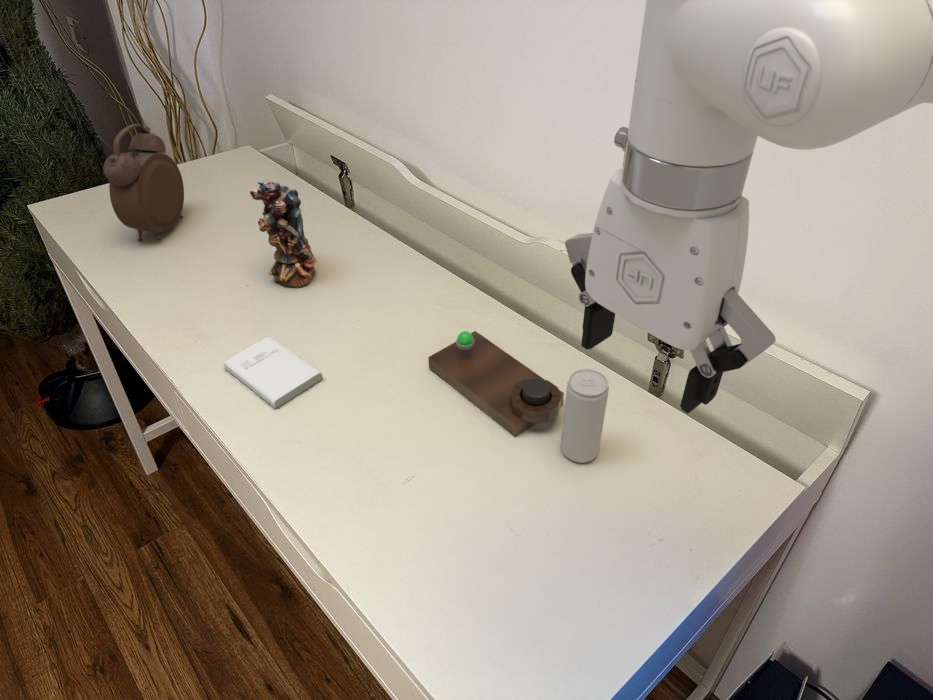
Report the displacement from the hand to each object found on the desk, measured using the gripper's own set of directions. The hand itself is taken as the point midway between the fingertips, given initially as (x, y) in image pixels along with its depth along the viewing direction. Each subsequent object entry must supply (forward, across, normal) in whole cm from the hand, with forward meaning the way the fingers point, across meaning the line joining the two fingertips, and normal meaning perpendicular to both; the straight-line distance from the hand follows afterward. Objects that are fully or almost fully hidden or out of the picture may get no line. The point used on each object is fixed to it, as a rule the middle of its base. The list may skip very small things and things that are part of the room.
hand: (643, 370), depth 55 cm
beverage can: (+31, -14, +12) cm, 36 cm away
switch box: (+30, -29, +12) cm, 44 cm away
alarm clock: (+31, -104, -6) cm, 109 cm away
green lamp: (+26, -36, +12) cm, 46 cm away
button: (+27, -22, +12) cm, 37 cm away
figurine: (+31, -73, +4) cm, 79 cm away
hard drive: (+31, -53, -10) cm, 62 cm away
